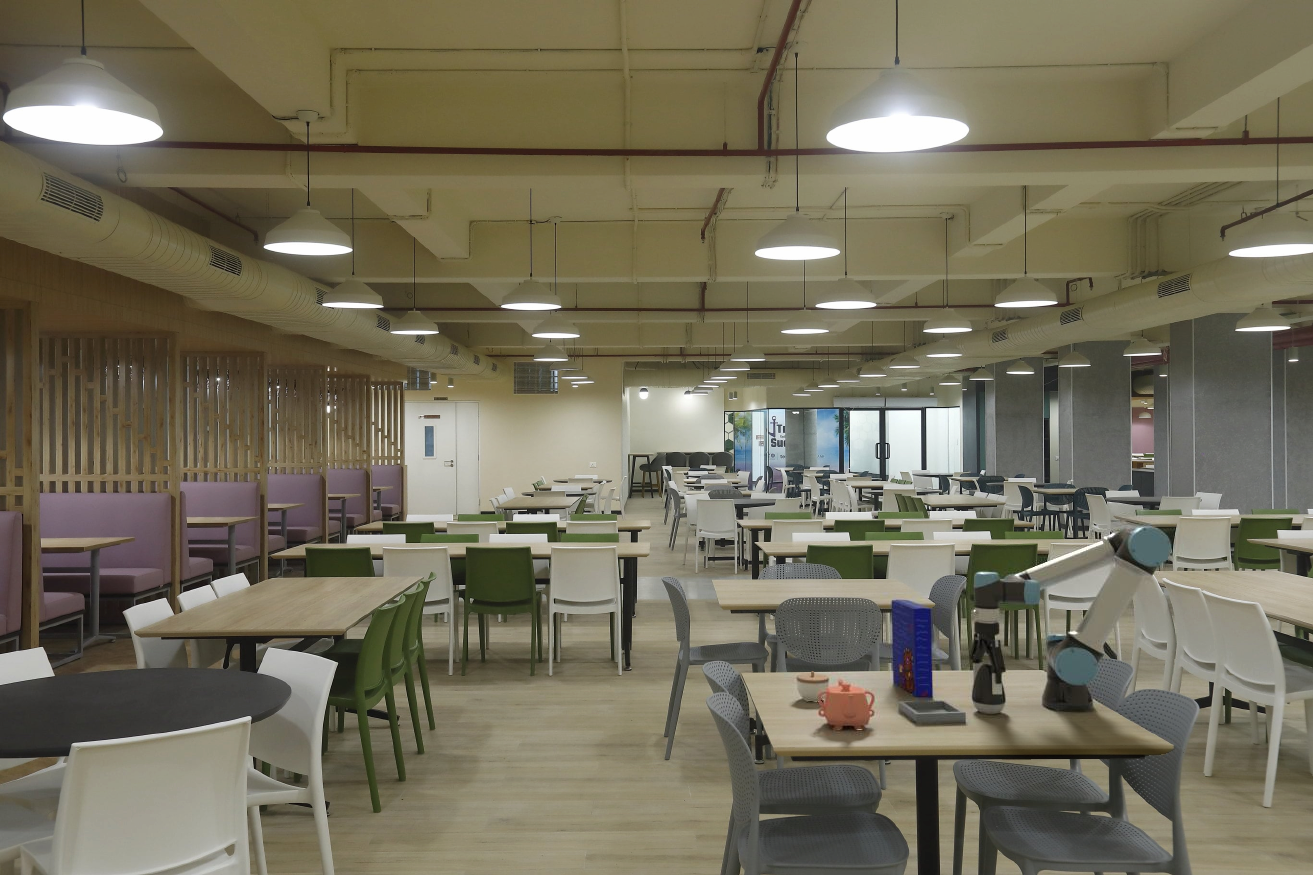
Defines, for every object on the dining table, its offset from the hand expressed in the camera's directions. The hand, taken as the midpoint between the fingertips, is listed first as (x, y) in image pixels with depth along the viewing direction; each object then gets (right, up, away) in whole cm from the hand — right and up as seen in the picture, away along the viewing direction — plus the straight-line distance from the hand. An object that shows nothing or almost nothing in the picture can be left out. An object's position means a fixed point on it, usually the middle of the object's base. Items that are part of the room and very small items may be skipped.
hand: (987, 688), depth 285 cm
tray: (-19, -7, -5) cm, 21 cm away
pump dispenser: (0, -8, 0) cm, 8 cm away
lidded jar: (-52, -9, +17) cm, 56 cm away
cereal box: (-15, -9, +30) cm, 35 cm away
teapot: (-48, -7, -14) cm, 50 cm away
